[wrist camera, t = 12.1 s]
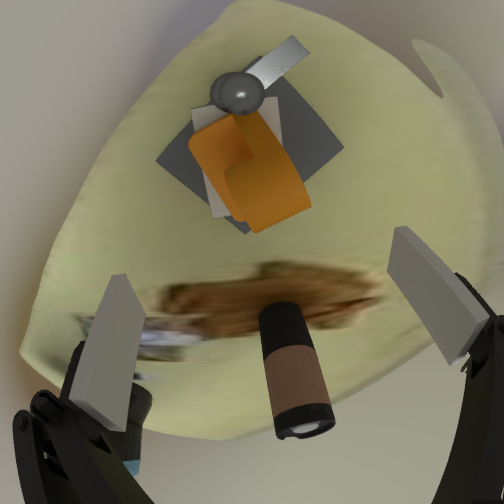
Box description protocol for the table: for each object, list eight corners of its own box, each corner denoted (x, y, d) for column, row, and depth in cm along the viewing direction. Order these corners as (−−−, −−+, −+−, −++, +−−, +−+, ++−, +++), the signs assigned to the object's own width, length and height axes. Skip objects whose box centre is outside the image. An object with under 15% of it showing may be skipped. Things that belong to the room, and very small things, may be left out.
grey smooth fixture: (232, 120, 26) (241, 149, 14) (201, 93, 24) (180, 96, 12) (278, 79, 24) (330, 72, 12) (248, 51, 22) (273, 15, 10)
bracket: (187, 135, 26) (168, 174, 16) (249, 102, 24) (272, 118, 15) (235, 213, 32) (246, 282, 22) (291, 185, 31) (328, 245, 21)
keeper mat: (145, 162, 28) (144, 163, 27) (254, 50, 22) (254, 49, 22) (244, 241, 35) (244, 244, 34) (346, 152, 29) (348, 153, 29)
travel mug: (296, 294, 41) (333, 414, 25) (307, 322, 45) (339, 428, 29) (250, 310, 42) (267, 432, 26) (266, 337, 46) (284, 444, 30)
